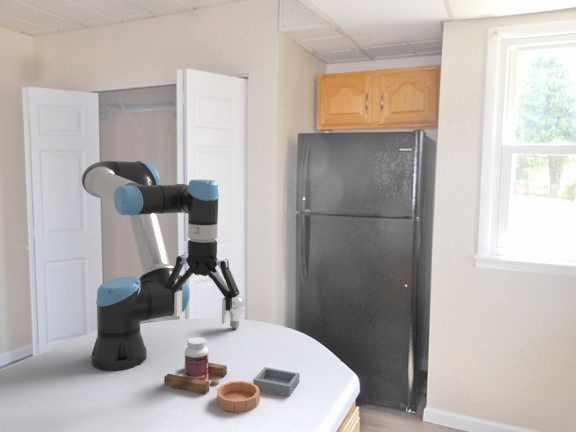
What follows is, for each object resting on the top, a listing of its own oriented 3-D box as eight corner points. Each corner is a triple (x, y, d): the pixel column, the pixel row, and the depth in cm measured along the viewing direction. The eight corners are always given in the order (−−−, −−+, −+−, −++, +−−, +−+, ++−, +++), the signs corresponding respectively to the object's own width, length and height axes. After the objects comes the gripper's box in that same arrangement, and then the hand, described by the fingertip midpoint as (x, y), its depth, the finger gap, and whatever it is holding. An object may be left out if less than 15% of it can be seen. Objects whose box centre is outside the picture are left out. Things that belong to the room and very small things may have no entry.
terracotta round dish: (209, 407, 112) (209, 396, 111) (228, 388, 121) (228, 378, 121) (249, 415, 108) (249, 404, 108) (265, 395, 118) (265, 385, 118)
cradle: (164, 385, 121) (164, 376, 121) (188, 367, 133) (188, 358, 132) (207, 394, 117) (207, 385, 117) (228, 374, 129) (228, 366, 129)
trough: (253, 389, 121) (253, 379, 121) (264, 376, 129) (264, 367, 128) (289, 396, 118) (290, 386, 118) (299, 382, 125) (299, 373, 125)
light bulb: (222, 331, 161) (222, 297, 160) (228, 324, 168) (228, 292, 167) (241, 333, 160) (242, 299, 159) (246, 326, 167) (247, 293, 166)
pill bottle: (211, 382, 124) (212, 342, 123) (189, 387, 121) (190, 346, 120) (202, 373, 129) (202, 334, 128) (181, 378, 126) (181, 338, 125)
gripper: (152, 237, 121) (151, 316, 124) (242, 246, 115) (240, 329, 117) (167, 233, 128) (166, 308, 131) (252, 241, 122) (250, 320, 124)
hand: (201, 318), depth 124 cm, fingers open, 13 cm apart
